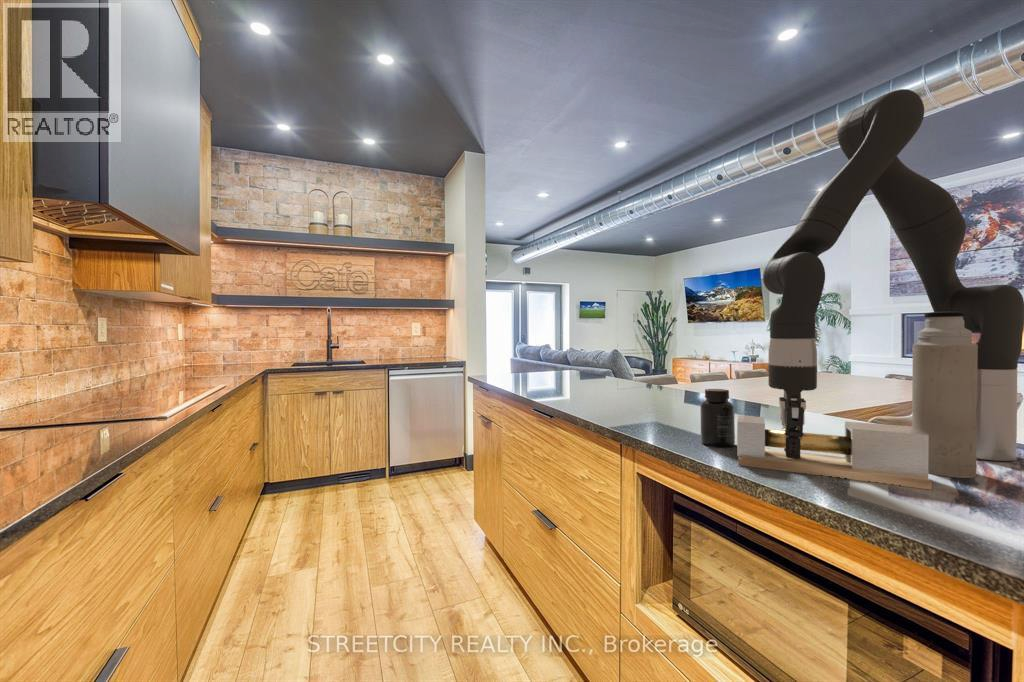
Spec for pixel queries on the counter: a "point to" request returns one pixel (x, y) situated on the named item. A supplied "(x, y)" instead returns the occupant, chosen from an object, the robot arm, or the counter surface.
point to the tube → (811, 442)
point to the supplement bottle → (717, 419)
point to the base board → (828, 468)
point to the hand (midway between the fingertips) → (792, 454)
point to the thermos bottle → (946, 393)
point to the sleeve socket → (856, 446)
